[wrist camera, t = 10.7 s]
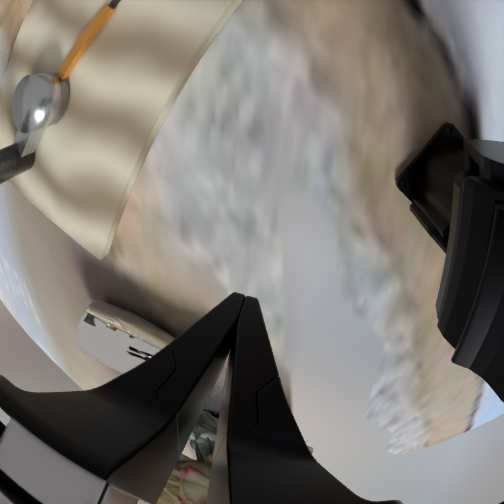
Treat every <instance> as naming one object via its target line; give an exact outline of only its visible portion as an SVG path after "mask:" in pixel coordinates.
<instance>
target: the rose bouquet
mask: <svg viewBox="0 0 504 504" xmlns="http://www.w3.org/2000/svg"><path fill="white" fill-rule="evenodd" d="M218 421H219V419H218V418H215V417H213V416H212V415H211V414H210V412H208V411H206V410H204V409H203V410H202V412H201V414H200V416H199V419H198V421H197V423H196V425H195V427H194V429H193V431H192V433H191V435H190V437H189V440H190V441H191V443H190V444H191V447H192V448H193V449H195V451H196V456H197V460H193V459H191V458H189V457H187V456H185V455H183V454H181V455H180V456H179V459H178V461H177V463H176V465H175V467H174V469H173V471H172V473H171V475H170V477H169V479H168V481H167V483H166V485H165V487H164V489H163V491H162V493H161V495H160V497H159V499H158V501H157V503H156V504H206V500H207V493H208V487H209V480H210V473H211V467H212V460H213V454H214V447H215V440H216V434H217V427H218ZM307 447H308V449H309V451H310V453H311V454H312V452H313V448H311V447H309V446H307Z"/></svg>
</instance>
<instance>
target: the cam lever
mask: <svg viewBox="0 0 504 504" xmlns="http://www.w3.org/2000/svg"><path fill="white" fill-rule="evenodd" d="M115 11H116V10H115V9H114V8H113V7H112V6H111V5H109V4H104V5H103V7H102V8H101V9H100V10H99V12H98V13H97V14H96V15H95V17H94V18H93V19H92V20H91V22H90V23H89V24H88V26H87V27H86V28H85V30H84V31H83V33H82V34H81V35H80V37H79V38H78V40H77V41H76V43H75V44H74V46H73V47H72V49H71V50H70V52H69V53H68V55H67V57H66V58H65V60H64V61H63V63H62V65H61V66H60V68H59V70H58V72H48V73H39V74H31V75H26V76H25V77H23V78H22V79H21V80H20V82H19V83H18V85H17V87H16V89H15V92H14V95H13V100H12V116H13V120H14V123H15V125H16V127H17V129H18V131H17V133H16V136H15V139H14V142H13V144H12V145H9V146H7V147H4V148H2V149H0V184H1V183H3V182H5V181H7V180H9V179H11V178H13V177H15V176H17V175H19V174H21V173H23V172H25V171H27V170H29V169H31V168H32V167H33V165H34V161H35V153H34V152H35V149H36V147H37V144H38V142H39V140H40V137H41V135H42V133H43V131H44V129H45V128H46V127H49V126H52V125H55V124H57V123H58V122H59V121H60V120H61V119H62V117H63V116H64V114H65V112H66V109H67V105H68V100H69V88H68V83H67V80H66V79H67V77H68V75H69V74H70V72H71V71H72V69H73V67H74V66H75V64H76V63H77V61H78V60H79V58H80V57H81V55H82V54H83V52H84V51H85V49H86V48H87V46H88V45H89V44H90V42H91V41H92V39H93V38H94V37H95V35H96V34H97V33H98V31H99V30H100V29H101V28H102V26H103V25H104V24H105V23H106V21H107V20H108V19H109V18H110V16H111V15H112V14H113V13H114V12H115Z"/></svg>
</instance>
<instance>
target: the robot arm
mask: <svg viewBox="0 0 504 504" xmlns="http://www.w3.org/2000/svg"><path fill="white" fill-rule="evenodd" d="M448 127H450V132H449V133H448V131H447V128H448ZM402 181H405V185H404V186H401V182H402ZM396 186H397V187H398V189H399V190H400V191H401V192H402V193H403V194H404V195H405V196H406V197H407V198H408V199H409V200H410V201H411V202H412V204H411V205H410V210H411V211H412V213H413V214H414V215H415V217H416V218H417V219H418V220H419V222H420V223H421V224H422V226H423V227H424V228H425V230H426V231H427V232H428V234H429V235H430V236H431V237H432V238H433V239H434V240H435V242H436V243H437V244H438V245H439V246H440V247H441V249H442V250H443V251H444V252H445V253H446V258H445V264H444V269H443V274H442V279H441V284H440V289H439V293H438V297H437V301H436V310H437V318H438V320H439V321H438V324H437V325H438V328H439V330H440V332H441V333H442V335H443V337H444V338H445V339H446V340H447V341H448V342H449V343H450V344H451V346H452V347H454V348H455V352H454V354H453V356H452V359H451V361H452V362H453V363H455V364H457V365H460V366H463V367H465V368H468V369H470V370H471V371H473V372H474V373H476V374H477V375H479V376H480V377H482V378H483V379H484V380H485V381H486V382H487V383H488V384H489V386H490V387H491V388H492V389H493V390H494V392H495V393H496V394H497V395H498V397H499V398H500V399H501V400H502V401H503V402H504V142H499V141H490V140H479V139H466V138H463V136H462V135H461V134H460V132H459V131H458V130H457V129H456V127H455V126H454V125H453V124H451V123H448V122H446V123H444V124H443V125H442V126H441V128H440V129H439V130H438V131H437V132H436V134H435V135H434V136H433V137H432V139H431V140H430V141H429V142H428V143H427V145H426V146H425V147H424V148H423V149H422V150H421V152H420V153H419V154H418V155H417V156H416V158H415V159H414V160H413V161H412V162H411V163H410V165H409V166H408V167H407V168H406V169H405V170H404V171H403V173H402V174H401V175H400V176H399V177H398V178H397V180H396ZM229 352H230V353H229ZM228 355H229V358H228V363H227V370H226V376H225V382H224V389H223V395H222V402H221V408H220V414H219V421H218V427H217V434H216V440H215V447H214V454H213V460H212V467H211V473H210V480H209V487H208V493H207V500H206V504H403V503H401V501H399V500H389V501H378V502H376V501H369V500H365V499H363V498H361V497H359V496H357V495H356V494H354V493H353V492H352V491H351V490H350V489H348V488H347V487H346V486H345V485H343V484H342V483H341V482H340V481H339V480H337V479H336V478H335V477H334V476H333V475H332V474H330V473H329V472H328V471H327V470H326V469H325V468H323V467H322V466H321V465H320V464H319V463H318V462H317V461H316V460H315V459H314V457H313V456H312V454H311V453H310V451H309V449H308V447H307V445H306V443H305V441H304V438H303V436H302V434H301V432H300V430H299V428H298V426H297V423H296V421H295V419H294V416H293V414H292V412H291V409H290V407H289V404H288V402H287V399H286V396H285V393H284V390H283V387H282V384H281V380H280V377H278V376H279V373H278V370H277V366H276V362H275V359H274V355H273V352H272V348H271V344H270V341H269V337H268V333H267V330H266V326H265V323H264V319H263V315H262V312H261V308H260V304H259V301H258V299H257V298H254V297H251V296H246V297H245V295H244V294H240V293H237V292H233V293H232V294H231V295H229V296H228V297H227V298H226V299H224V300H223V301H222V302H221V303H219V304H218V305H217V306H216V307H214V308H213V309H212V310H211V311H209V312H208V313H207V314H206V315H204V316H203V317H202V318H201V319H199V320H198V321H197V322H196V323H194V324H193V325H192V326H191V327H189V328H188V329H187V330H186V331H184V332H183V333H182V334H181V335H179V336H178V337H177V338H175V339H174V340H173V341H172V342H170V344H168V345H166V346H165V347H164V348H163V349H161V350H160V351H159V352H157V353H156V354H154V355H153V356H152V357H150V358H149V359H147V360H146V361H144V362H142V363H141V364H139V365H138V366H136V367H134V368H132V369H131V370H129V371H127V372H125V373H124V374H122V375H120V376H118V377H117V378H115V379H113V380H111V381H109V382H108V383H106V384H104V385H102V386H100V387H97V388H94V389H91V390H85V391H71V392H43V393H36V392H28V391H24V390H21V389H19V388H17V387H15V386H14V385H13V384H12V383H11V382H10V381H9V380H7V379H6V378H5V377H4V376H2V375H0V408H1V409H2V410H3V411H4V412H5V413H6V414H7V415H9V416H10V417H11V419H10V421H9V423H8V424H7V426H5V425H4V424H3V423H2V422H1V421H0V504H137V502H138V500H142V501H144V502H147V503H149V504H156V503H157V501H158V499H159V497H160V495H161V493H162V491H163V489H164V487H165V485H166V483H167V481H168V479H169V477H170V475H171V473H172V471H173V469H174V467H175V465H176V463H177V461H178V459H179V456H180V455H181V453H182V451H183V449H184V447H185V445H186V443H187V441H188V439H189V437H190V435H191V433H192V431H193V429H194V427H195V425H196V423H197V421H198V419H199V416H200V414H201V412H202V410H203V408H204V406H205V404H206V402H207V400H208V398H209V396H210V394H211V391H212V389H213V387H214V385H215V383H216V381H217V379H218V377H219V374H220V372H221V370H222V368H223V366H224V364H225V362H226V359H227V357H228ZM499 504H504V501H503V502H501V503H499Z"/></svg>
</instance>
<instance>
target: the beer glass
mask: <svg viewBox="0 0 504 504" xmlns="http://www.w3.org/2000/svg"><path fill="white" fill-rule="evenodd" d="M174 339H175V337H173V336H172V335H170V334H168V333H167V332H165V331H164V330H162V329H160V328H159V327H157V326H155V325H154V324H152V323H151V322H149V321H147V320H145V319H144V318H142V317H140V316H138V315H136V314H134V313H132V312H129V311H127V310H125V309H122V308H120V307H117V306H114V305H112V304H109V303H106V302H104V301H102V300H96V301H94V302H93V303H91V304H90V305H89V306H88V308H87V309H86V310H85V312H84V314H83V316H82V318H81V320H80V323H79V326H78V330H77V345H78V347H79V349H80V350H82V351H84V352H85V353H87V354H88V355H90V356H91V357H93V358H94V359H96V360H97V361H99V362H101V363H102V364H104V365H106V366H108V367H110V368H112V369H114V370H116V371H118V372H120V373H123V374H124V373H125V372H127V371H129V370H131V369H132V368H134V367H136V366H138V365H139V364H141V363H142V362H144V361H146V360H147V359H149V358H150V357H152V356H153V355H154V354H156V353H157V352H159V351H160V350H161V349H163V348H164V347H165V346H166V345H168V344H170V342H172V341H173V340H174Z"/></svg>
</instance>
